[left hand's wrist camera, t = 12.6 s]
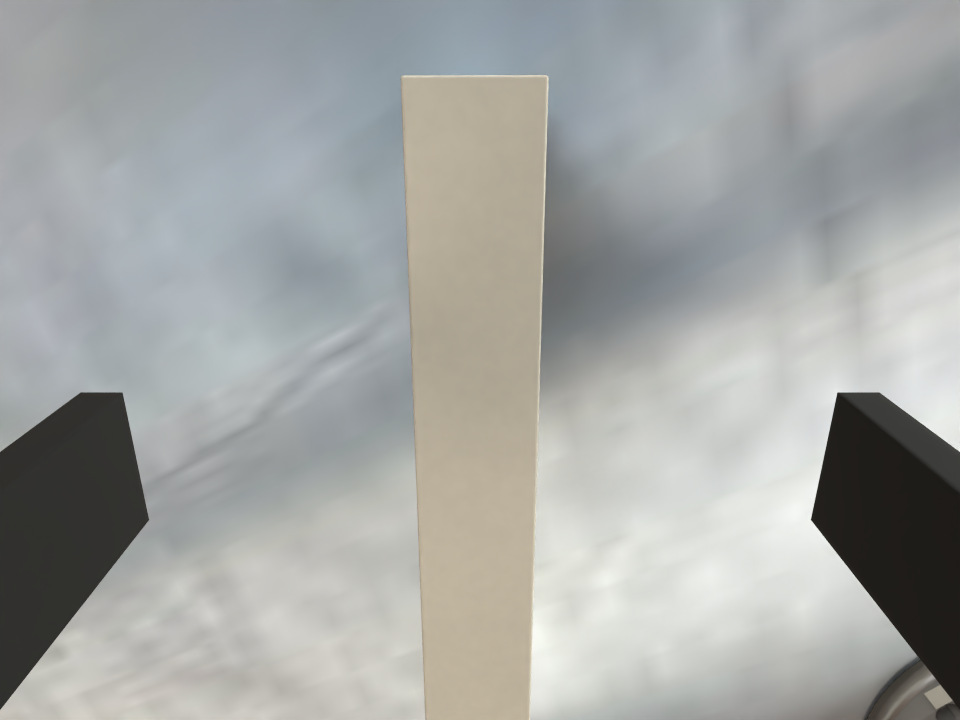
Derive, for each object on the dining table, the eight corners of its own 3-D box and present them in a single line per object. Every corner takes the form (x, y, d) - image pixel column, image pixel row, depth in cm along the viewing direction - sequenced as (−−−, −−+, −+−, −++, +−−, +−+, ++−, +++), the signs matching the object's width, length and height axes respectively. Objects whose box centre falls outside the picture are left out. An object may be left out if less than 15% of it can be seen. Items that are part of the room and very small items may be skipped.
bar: (421, 87, 28) (400, 75, 20) (528, 86, 28) (548, 74, 20) (446, 940, 46) (440, 1109, 38) (511, 940, 46) (518, 1109, 38)
